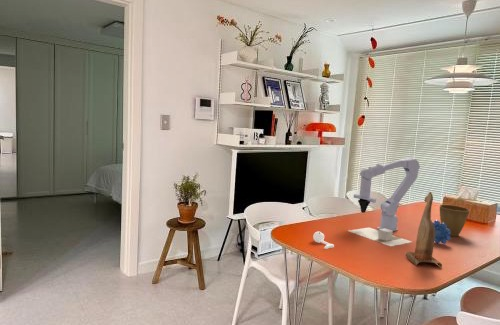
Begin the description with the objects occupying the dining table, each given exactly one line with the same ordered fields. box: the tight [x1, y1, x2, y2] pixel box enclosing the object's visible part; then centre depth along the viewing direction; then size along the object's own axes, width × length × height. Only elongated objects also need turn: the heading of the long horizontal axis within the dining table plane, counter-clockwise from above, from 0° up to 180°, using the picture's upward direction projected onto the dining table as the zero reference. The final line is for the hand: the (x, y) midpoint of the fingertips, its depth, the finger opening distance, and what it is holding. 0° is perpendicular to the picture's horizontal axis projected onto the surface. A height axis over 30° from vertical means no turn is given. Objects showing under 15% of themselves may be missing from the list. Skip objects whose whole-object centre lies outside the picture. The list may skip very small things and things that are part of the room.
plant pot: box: [439, 204, 470, 237], centre depth 202 cm, size 15×15×16 cm
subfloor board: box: [348, 227, 412, 247], centre depth 191 cm, size 18×28×1 cm, turn 32°
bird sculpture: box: [405, 191, 443, 268], centre depth 154 cm, size 11×12×32 cm
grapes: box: [432, 219, 452, 245], centre depth 184 cm, size 12×7×12 cm, turn 57°
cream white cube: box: [378, 228, 394, 241], centre depth 186 cm, size 5×5×5 cm
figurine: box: [312, 231, 335, 250], centre depth 172 cm, size 8×6×12 cm
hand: (363, 212), depth 205 cm, fingers closed
